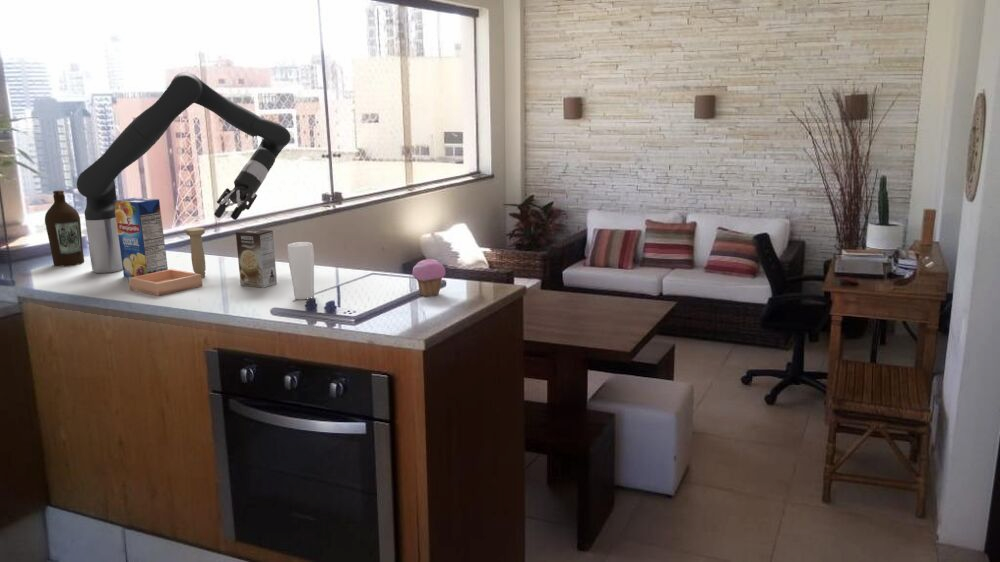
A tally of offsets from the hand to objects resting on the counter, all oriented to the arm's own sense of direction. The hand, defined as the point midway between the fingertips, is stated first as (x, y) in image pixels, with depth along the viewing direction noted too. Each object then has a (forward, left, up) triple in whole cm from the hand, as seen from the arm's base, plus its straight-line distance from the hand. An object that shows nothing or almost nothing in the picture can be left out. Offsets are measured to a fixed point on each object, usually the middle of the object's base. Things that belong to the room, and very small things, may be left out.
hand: (224, 217), depth 259 cm
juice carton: (-17, -19, -17) cm, 31 cm away
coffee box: (+25, -8, -17) cm, 32 cm away
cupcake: (+78, +8, -17) cm, 80 cm away
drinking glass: (+50, -12, -17) cm, 54 cm away
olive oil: (-60, -22, -17) cm, 66 cm away
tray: (+4, -25, -17) cm, 30 cm away
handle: (0, -11, -17) cm, 21 cm away
